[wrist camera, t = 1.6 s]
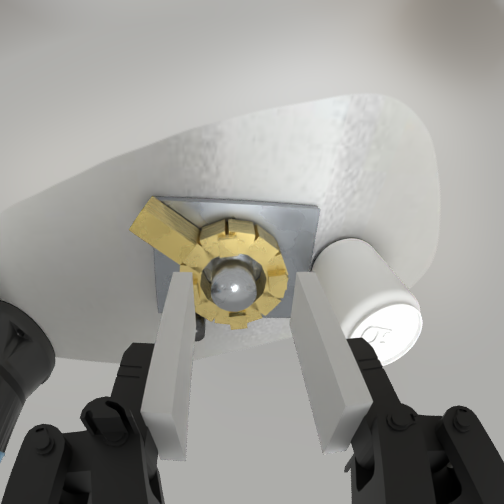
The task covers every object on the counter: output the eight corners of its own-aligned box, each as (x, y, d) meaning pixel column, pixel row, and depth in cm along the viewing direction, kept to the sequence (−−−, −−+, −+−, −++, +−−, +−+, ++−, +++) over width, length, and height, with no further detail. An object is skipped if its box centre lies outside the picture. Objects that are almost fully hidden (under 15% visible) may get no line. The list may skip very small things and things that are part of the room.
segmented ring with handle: (302, 258, 32) (311, 279, 28) (239, 321, 35) (241, 345, 31) (175, 163, 27) (168, 172, 23) (120, 243, 30) (107, 262, 26)
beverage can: (361, 301, 37) (400, 371, 26) (300, 294, 36) (327, 371, 25) (385, 242, 34) (442, 303, 23) (322, 229, 32) (365, 294, 22)
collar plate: (159, 306, 35) (150, 342, 30) (154, 196, 29) (138, 219, 24) (297, 311, 37) (308, 347, 31) (317, 205, 31) (336, 229, 26)
